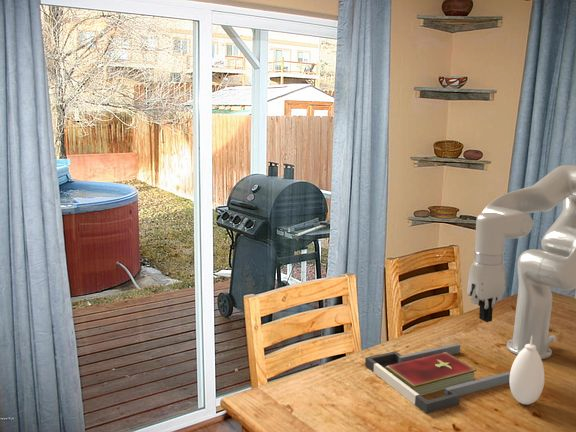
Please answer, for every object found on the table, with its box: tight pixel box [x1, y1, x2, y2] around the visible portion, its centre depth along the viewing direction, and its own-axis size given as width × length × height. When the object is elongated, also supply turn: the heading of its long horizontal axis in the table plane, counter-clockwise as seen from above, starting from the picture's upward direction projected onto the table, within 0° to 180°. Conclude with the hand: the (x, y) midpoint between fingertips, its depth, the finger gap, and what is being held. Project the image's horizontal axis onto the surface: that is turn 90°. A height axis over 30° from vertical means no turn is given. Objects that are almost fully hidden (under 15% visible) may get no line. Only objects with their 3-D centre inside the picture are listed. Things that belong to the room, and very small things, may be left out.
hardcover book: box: [386, 352, 477, 397], centre depth 144 cm, size 12×21×4 cm, turn 116°
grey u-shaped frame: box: [364, 343, 510, 414], centre depth 146 cm, size 31×26×2 cm
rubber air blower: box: [508, 336, 545, 405], centre depth 132 cm, size 8×8×18 cm
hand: (485, 319), depth 150 cm, fingers closed
